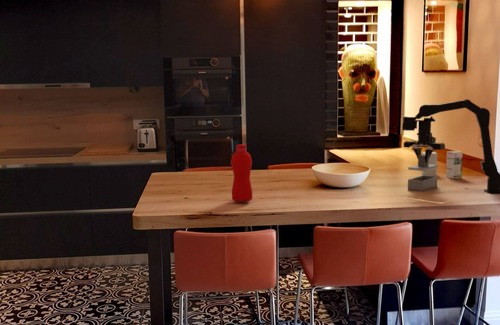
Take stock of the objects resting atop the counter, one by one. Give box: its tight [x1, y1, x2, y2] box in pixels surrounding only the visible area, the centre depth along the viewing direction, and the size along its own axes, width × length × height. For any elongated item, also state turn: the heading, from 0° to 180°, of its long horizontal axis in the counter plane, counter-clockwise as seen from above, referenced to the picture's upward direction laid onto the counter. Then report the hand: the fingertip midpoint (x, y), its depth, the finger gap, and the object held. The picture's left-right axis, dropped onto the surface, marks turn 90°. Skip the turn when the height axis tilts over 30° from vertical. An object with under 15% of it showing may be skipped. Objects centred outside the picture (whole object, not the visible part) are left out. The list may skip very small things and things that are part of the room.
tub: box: [407, 174, 438, 193], centre depth 252 cm, size 16×7×5 cm, turn 136°
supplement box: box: [421, 151, 438, 177], centre depth 289 cm, size 7×7×13 cm
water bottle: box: [230, 144, 253, 203], centre depth 232 cm, size 9×11×25 cm
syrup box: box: [445, 150, 463, 179], centre depth 279 cm, size 6×6×14 cm
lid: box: [407, 153, 438, 172], centre depth 251 cm, size 16×7×6 cm, turn 136°
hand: (423, 162), depth 251 cm, fingers closed on lid, 3 cm apart
